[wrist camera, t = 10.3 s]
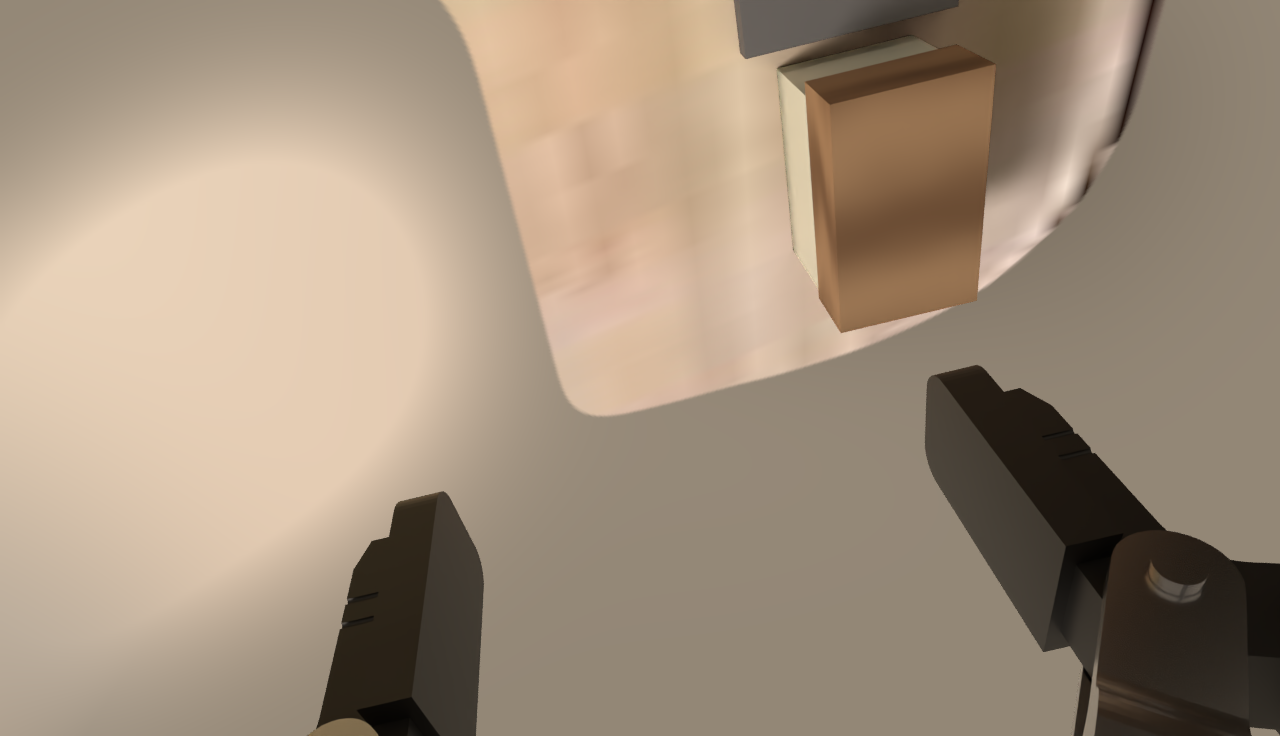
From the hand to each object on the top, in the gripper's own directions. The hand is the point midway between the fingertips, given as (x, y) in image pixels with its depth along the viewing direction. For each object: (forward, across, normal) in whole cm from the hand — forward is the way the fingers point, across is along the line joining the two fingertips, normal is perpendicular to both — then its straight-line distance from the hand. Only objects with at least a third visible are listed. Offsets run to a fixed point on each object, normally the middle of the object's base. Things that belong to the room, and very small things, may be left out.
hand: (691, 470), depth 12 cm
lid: (+20, -11, +6) cm, 24 cm away
